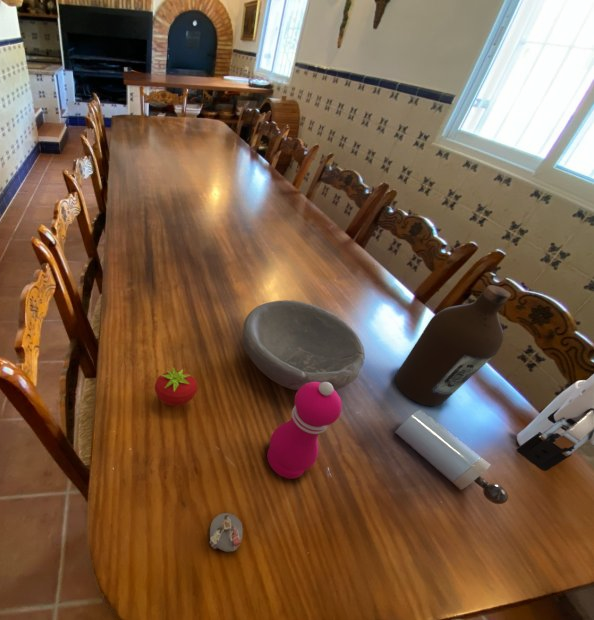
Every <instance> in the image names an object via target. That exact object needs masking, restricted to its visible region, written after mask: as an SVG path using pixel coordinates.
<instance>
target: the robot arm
mask: <svg viewBox="0 0 594 620" xmlns="http://www.w3.org/2000/svg"><path fill="white" fill-rule="evenodd" d="M585 380H586V381H585V382H584V383H583V384H582V385H581V386H580V387H579V388H578V389H577V390H576V391H575V392H574V393H573V394H572V395H571V396H570V397H569V398H568V399H567V400H566V401H565V403H564V404H563V405H562V406H561V407H560V408H559V409H557V410H556V411H555V412H553V413H552V414H551V415H549V416H548V420H549V421H551V422H552V423H554V424H553V425H552V426H551V427H550V428H549V429H547V430H546V431H545V432H544V433H543V434H542V433H541V432H539V433H537V434H536V435H535V436H533V437H532V438H530V439H529V440H528V441H526V442H525V443H524V444H522V445H521V446H520V445H519V446H518V447H517V448H516V453H518V454H519V455H521V456H522V457H523V458H524V459H526V460H528V461H529V462H530V463H531V464H532V465H534V466H536V468H538V469H539V470H541V471H544V472H547V471H549V470H550V469H552V468H554V467H555V466H557V465H559V464H560V463H561V462H563V461H564V460H566V459H568V458H569V457H571V456H572V455H573V453H574V452H575V451H577V449H579V448H580V447H582V446H583V445H584V444H586V443H587V442H588V441H589V444H591V445H592V446H594V373H593V374H592V375H591V376H589V378H587V379H585ZM559 428H561V429H563V430H565V432H563V433H562V434H561V435H560V434H558V433H555V432H556V431H557V430H558V429H559ZM553 433H555V434H553Z"/></svg>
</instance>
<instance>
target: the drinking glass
mask: <svg viewBox="0 0 594 620" xmlns="http://www.w3.org/2000/svg"><path fill="white" fill-rule="evenodd" d="M586 380H587V379H582V380H580V379H579V380H577V381H575V382H574V383H572V384H571V385H570V386H568V387H567V388H565V389H564V390H563V391H561V392H560V393H559V394H558V395H557V396H556V397H555V398H553V400H552V401H551V402H550V403H549V404H548V405H546V406H545V408H544V409H543V410H541V412H540V413H539V414H537V416H535V418H533V419H532V421H530V423H528V424H527V426H526V427H524V428H523V429H522V430H521V431H519V432H518V433H517V435H516V441H517V444H518V445H519V446H521V445H522V444H524V443H525V442H526V441H528V440H529V439H530V438H532V437H533V436H535V435H536V434H537V433H539V432H541V433H542V434H543V433H544V432H545V431H546V430H547V429H549V428H550V427H551V426H552V425H553V424H554V423H552V422H551V421H549V420H548V416H549V415H551V414H552V413H553V412H555V411H556V410H557V409H559V408H560V407H561V406H562V405H563V404H564V403H565V401H566V400H567V399H568V398H569V397H570V396H571V395H572V394H573V393H574V392H575V391H576V390H577V389H578V388H579V387H580V386H581V385H582V384H583V383H584V382H585V381H586ZM563 432H565V430H563V429H561V428H559V429H558V430H557V431H556V432H555V433H558V434H560V435H561V434H562V433H563ZM555 433H553V434H555Z"/></svg>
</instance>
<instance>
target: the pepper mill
mask: <svg viewBox="0 0 594 620" xmlns="http://www.w3.org/2000/svg"><path fill="white" fill-rule="evenodd" d="M342 409H343V404H342V400H341V397H340V395H339V393H338V392H337V391H336V390H334V389H333V386H332V385H331V384H330V383H329V382H323V383H320V382H310V383H307V384H305V385H303V386H302V387H301V388H300V389H299V390H297V391H296V393H295V396H294V406H293V408H292V410H291V417H292V418H291V419H290V420H288V421H286V422H284V423H281V424H280V425H279V426H277V427H276V428H275V429H274V430H273V432H272V434H271V436H270V441H269V447H268V450H267V453H266V456H267V457H266V459H267V461H268V464H269V466H270V467H271V469H272V470H273V472H275V473H276V474H277V475H278V476H281V477H282V478H285V479H290V480H291V479H292V480H293V479H298V478H300V477H301V476H303V474H304V473H305V472H306V470H309V469H310V468H311V467H313V466H314V464H315V463H316V461H317V459H318V456H319V448H320V447H319V441H318V436H319V434H322V433H324V432H325V431H326V430H327V429H328V427H329V426H330V425H332V424H334V423H335V422H336V421H337V420H338V419H339V418H340V416H341V413H342Z"/></svg>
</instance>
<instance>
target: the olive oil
mask: <svg viewBox="0 0 594 620" xmlns="http://www.w3.org/2000/svg"><path fill="white" fill-rule="evenodd" d="M511 296H512V294H511V293H510V292H509V291H508V290H507V289H505V288H503V287H501V286H498V285H493V284H491V285H488V286H487V287H486V288H485V290H484V291H482V292H481V293H480V294H479V295H478V297H477V298H476V299H475V301H474V302H471V303H464V304H459V305H454V306H448V307H445V308H444V309H442V310H440V311H438V312H437V313H435V315H434V316H432V317H431V319H430V321H429V322H428V323H427V325H426V326H425V328H424V330H423V331H422V333H421V335H420V336H419V337H418V340H417V341H416V342H415V344H414V346H413V347H412V349H411V350H410V352H409V354H407V356H406V358H405V360H404V361H403V362H402V364H401V366H400V367H399V368H398V370H397V371H396V373H395V375H394V382H395V385H396V386H397V388H398V389H399V391H400V392H401V393H402V394H403V395H404V396H406V397H407V398H408V399H410V400H411V401H413V402H415V403H417V404H420V405H423V406H427V407H438V406H441V405H442V404H444V403H445V402H446V401H447V400H448V399H449V398H451V396H452V395H453V394H454V393H456V392H457V391H458V390H459V389H461V387H462V386H463V385H464V384H465V383H466V382H467V381H468V380H469V379H471V378H472V376H474V375H475V374H476V373H477V372H478V371H479V370H480V369H482V368H483V367H484V366H485V365H486V364H487V363H488V362H489V361H490V360H491V359H493V358H494V357H495V356H496V355H497V354H498V352H499V351H500V349H501V347H502V345H503V342H504V330H503V327H502V325H501V322H500V320H499V317H498V312H499V311H500V310H501V309H502V308H504V306H505V305H506V303H507V301H508V300H509V299H510V298H511Z"/></svg>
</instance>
